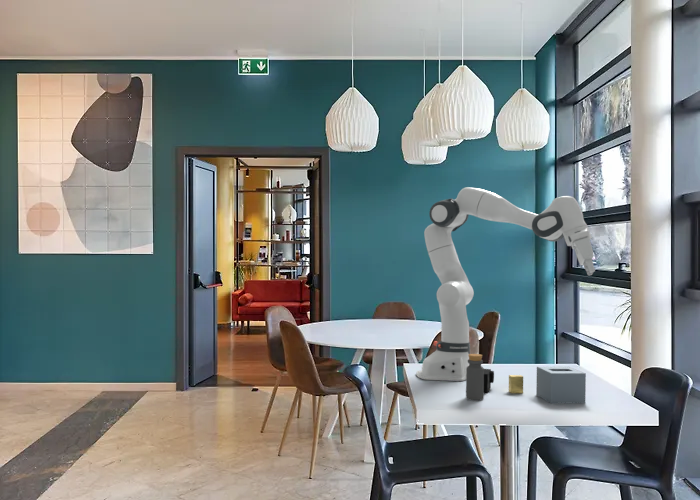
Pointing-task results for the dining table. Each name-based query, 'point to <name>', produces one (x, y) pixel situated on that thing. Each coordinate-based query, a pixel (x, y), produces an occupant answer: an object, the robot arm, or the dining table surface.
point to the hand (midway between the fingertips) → (591, 273)
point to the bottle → (475, 378)
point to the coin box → (561, 384)
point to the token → (515, 384)
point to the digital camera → (488, 379)
